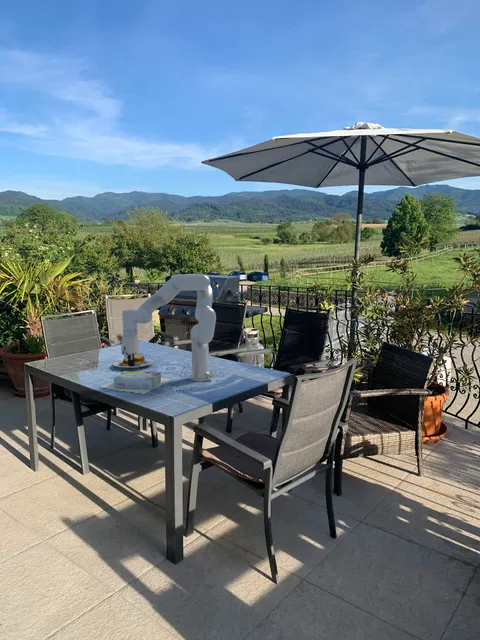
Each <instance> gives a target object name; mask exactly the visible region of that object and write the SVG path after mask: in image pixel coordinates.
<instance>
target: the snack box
mask: <svg viewBox="0 0 480 640" xmlns="http://www.w3.org/2000/svg"><path fill="white" fill-rule="evenodd" d="M161 376H162V373H161V372H158V371H156V372H155V371H153V372H152V371H135V370H133V371H132V370H124V371H122V372H121V373H120V374H118V375H117V376H116V377H114V378H113V381H114V387H115V388H137V389H153V388H154V387H155V386H156V385H157V384H158V383H159V382H160V381H161V378H162V377H161Z"/></svg>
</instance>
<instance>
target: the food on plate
mask: <svg viewBox="0 0 480 640" xmlns="http://www.w3.org/2000/svg"><path fill="white" fill-rule="evenodd" d="M154 363H155V362H154V361H153V360H149V359H145V356H144V355H143V354H140V353H137V354H136V355H135V366H133V367H130V366H128V359H127V357H124V358H123V359H122V360H121V361H116V362H113V363H112V365H111V366H113V367H117V368H118V369H121V368H122V369H129V368H130V369H135V368H136V369H137V368H140V367H148V366H151V365H154Z"/></svg>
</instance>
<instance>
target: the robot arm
mask: <svg viewBox="0 0 480 640" xmlns="http://www.w3.org/2000/svg"><path fill="white" fill-rule="evenodd" d="M182 291H183V292H194V291H196V293H197V299H196V300H197V301H196V308H195V310H194V311H195V313H194V316H195V317H194V318H195V319H196V321H198V323H197V324H194V325H193V326H192V327H191V328H190V329H191V330H190V339H191V340H190V341H191V342H190V343H191V375H190V376H189V380H190V381H193V382H207V381H210V380H211V379H214V378H215V377H216V376H215V373H214V372H211V370H210V368H209V367H210V365H209V364H210V363H209V361H210V359H209V350H210V349H209V343H210V342H211V341H213V338H214V334H215V328H216V322H217V314H216V312H215V310H214V309H213V308H212V306H213V297H214V295H213V289H212V287H211V279H210V278H209V276H207V275H205V274H201V273H195V274H194V273H193V274H180V273H177V274H174V275H172V277H171V278H170V279H168V281H166V283H164V284H163V286H162V287H160V288H159V289H158V290H157V291H156V292H155V293H154V294H152V295H151V296H150V297H149V298H148V299H146V300H145V301H144V302H143V303H142V304H141V305H140V306H139V307H138V308H137V309H131V308H129V309H128V308H127V309H124V310H122V313H121V316H122V317H121V318H122V338H121V346H120V348H121V351H120V352H121V355H123V358H127V359H128V366H130V367H133V366H135V355H136V354H139V352H140V340H139V334H138V333H139V331H138V324H148V323H150V322H151V321H152V320H153V313H155V311H156V310H158V309H159V308H160V307H163V306H166V305H167V304H169V303H170V302H172V300H173V299H174V298H175V297H176V296H177V295H178V294H179V293H180V292H182Z"/></svg>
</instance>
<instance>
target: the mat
mask: <svg viewBox="0 0 480 640" xmlns="http://www.w3.org/2000/svg"><path fill="white" fill-rule="evenodd" d="M170 381H172V379H171V378H164V377H161V381H160V382H159V383H158V384H157V385H156V386H155V387H154V388H153V389H154V390H155V389H157V388H160V387H161V386H163V385H164V384H167V383H169V382H170ZM100 387H101V388H100V389H102V388H107V389H106V390H109V389H113V390H112V391H116V390H118V391H117V392H123V391H125V392H124V393H130V392H134V393H133V394H137V393H141V394H140V395H145V393H146V394H148V393H150V392H152V391H153V389H137V388H115V387H114V380H113V381H110V382H108V383H106V384H103V385H101V386H100ZM151 390H152V391H151ZM149 391H150V392H149ZM147 392H148V393H147Z"/></svg>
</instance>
